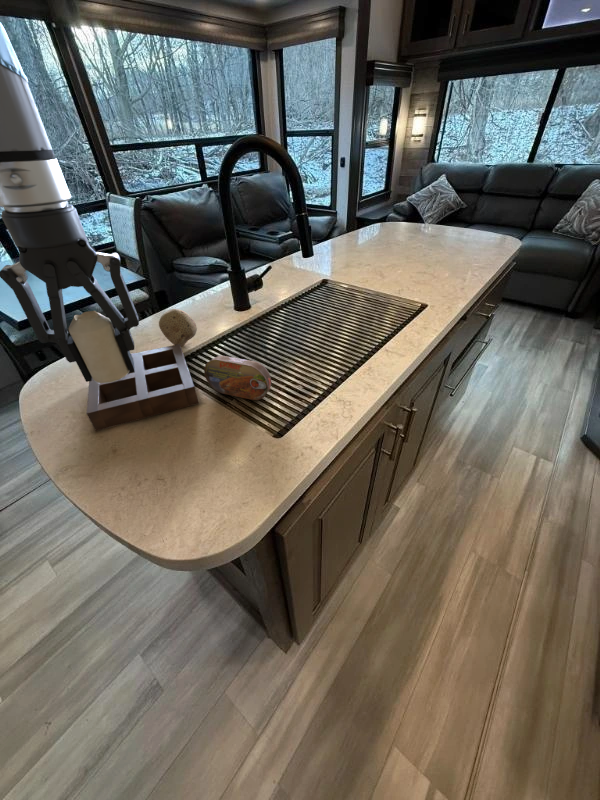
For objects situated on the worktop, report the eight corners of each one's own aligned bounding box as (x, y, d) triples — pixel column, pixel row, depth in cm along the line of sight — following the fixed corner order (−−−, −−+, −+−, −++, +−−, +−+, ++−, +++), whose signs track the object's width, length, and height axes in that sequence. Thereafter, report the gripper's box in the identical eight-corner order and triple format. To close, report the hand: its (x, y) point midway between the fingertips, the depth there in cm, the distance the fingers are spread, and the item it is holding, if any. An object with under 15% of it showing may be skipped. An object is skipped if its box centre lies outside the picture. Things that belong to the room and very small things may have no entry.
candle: (120, 383, 51) (94, 323, 45) (85, 383, 51) (54, 323, 45) (135, 364, 55) (113, 306, 49) (103, 364, 55) (77, 307, 49)
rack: (95, 431, 64) (86, 413, 61) (98, 378, 78) (90, 362, 75) (198, 403, 70) (194, 386, 67) (183, 359, 84) (179, 343, 82)
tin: (207, 390, 74) (199, 357, 69) (214, 382, 76) (207, 350, 71) (268, 404, 70) (265, 370, 65) (274, 395, 72) (271, 362, 67)
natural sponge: (192, 333, 96) (185, 300, 89) (205, 346, 90) (197, 311, 84) (161, 343, 91) (151, 308, 85) (172, 356, 86) (161, 320, 79)
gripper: (-78, 218, 33) (40, 400, 47) (123, 204, 39) (173, 370, 53) (-50, 207, 38) (48, 373, 53) (122, 196, 44) (168, 349, 58)
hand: (111, 372), depth 53 cm, fingers closed on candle, 5 cm apart
